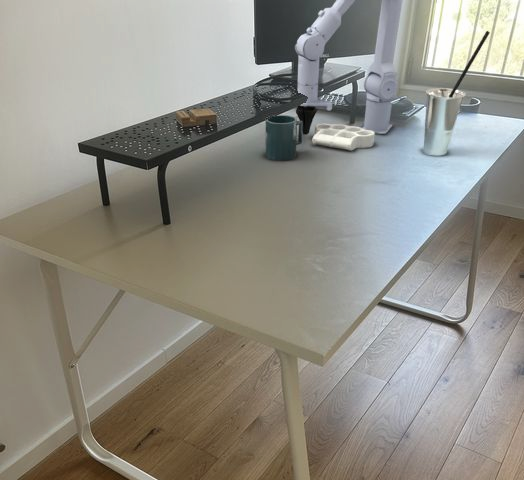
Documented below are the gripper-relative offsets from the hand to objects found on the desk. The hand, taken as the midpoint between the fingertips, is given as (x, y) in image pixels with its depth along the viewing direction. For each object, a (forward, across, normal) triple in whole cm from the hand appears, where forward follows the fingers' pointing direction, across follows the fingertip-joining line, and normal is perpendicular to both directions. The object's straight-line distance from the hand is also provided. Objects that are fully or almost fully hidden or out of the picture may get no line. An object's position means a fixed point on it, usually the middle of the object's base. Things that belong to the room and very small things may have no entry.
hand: (305, 133), depth 163 cm
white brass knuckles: (+2, +11, 0) cm, 11 cm away
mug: (+1, 0, -16) cm, 16 cm away
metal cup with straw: (+2, +38, +2) cm, 38 cm away
